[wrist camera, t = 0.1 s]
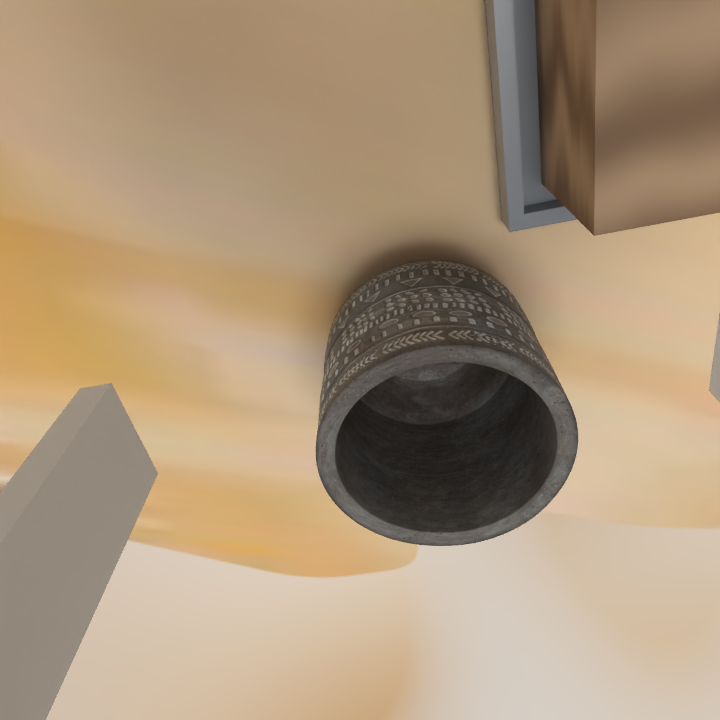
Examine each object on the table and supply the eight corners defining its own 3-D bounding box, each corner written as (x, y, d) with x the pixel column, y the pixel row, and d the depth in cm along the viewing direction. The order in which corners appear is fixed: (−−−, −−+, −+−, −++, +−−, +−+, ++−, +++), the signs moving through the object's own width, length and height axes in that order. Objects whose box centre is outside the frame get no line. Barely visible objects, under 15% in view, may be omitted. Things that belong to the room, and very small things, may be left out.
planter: (365, 210, 39) (364, 307, 26) (551, 274, 41) (634, 392, 28) (307, 375, 46) (284, 515, 33) (469, 422, 48) (505, 569, 35)
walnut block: (532, -62, 30) (597, -91, 22) (731, -111, 29) (884, -162, 20) (541, 183, 37) (594, 235, 28) (704, 151, 36) (810, 195, 27)
